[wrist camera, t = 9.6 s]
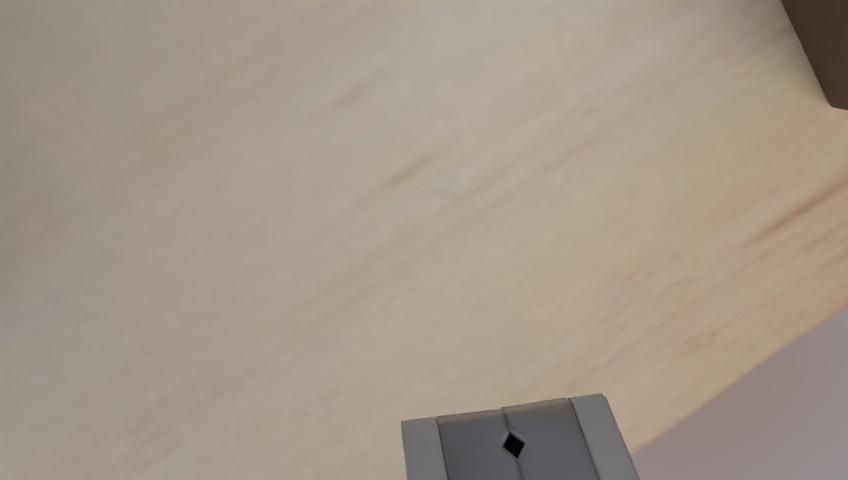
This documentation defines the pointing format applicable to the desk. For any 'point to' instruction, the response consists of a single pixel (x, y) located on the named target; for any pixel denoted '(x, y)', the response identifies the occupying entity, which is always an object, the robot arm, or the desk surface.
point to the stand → (824, 43)
